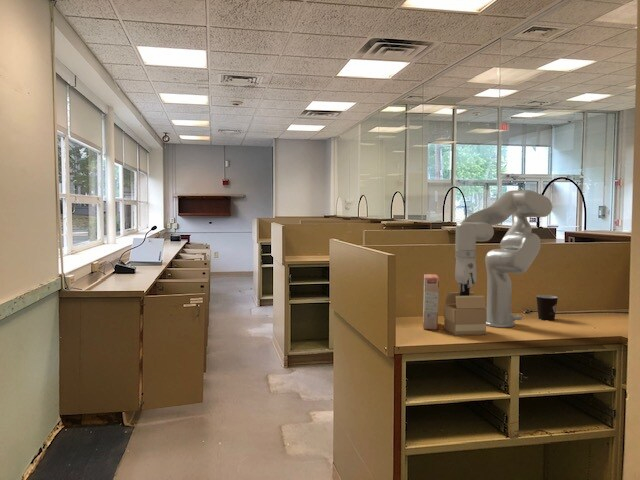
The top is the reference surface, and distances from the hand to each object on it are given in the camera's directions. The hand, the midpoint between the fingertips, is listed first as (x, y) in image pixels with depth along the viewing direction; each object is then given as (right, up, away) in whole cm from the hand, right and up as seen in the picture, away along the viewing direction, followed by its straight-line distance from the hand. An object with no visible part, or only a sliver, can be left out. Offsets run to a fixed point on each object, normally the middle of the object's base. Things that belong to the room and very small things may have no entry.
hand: (464, 301), depth 191 cm
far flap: (-1, +1, +4) cm, 4 cm away
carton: (0, -12, 0) cm, 12 cm away
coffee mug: (+45, -11, +25) cm, 53 cm away
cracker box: (-11, -12, +10) cm, 19 cm away
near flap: (+1, 0, -5) cm, 5 cm away
